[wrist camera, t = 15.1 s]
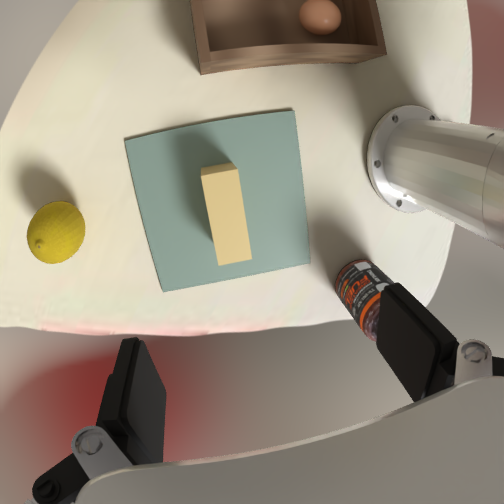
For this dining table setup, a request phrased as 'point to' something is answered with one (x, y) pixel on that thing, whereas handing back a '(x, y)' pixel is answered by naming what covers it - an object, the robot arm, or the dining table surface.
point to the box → (281, 34)
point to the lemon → (56, 232)
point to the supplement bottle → (362, 293)
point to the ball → (320, 16)
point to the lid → (222, 198)
